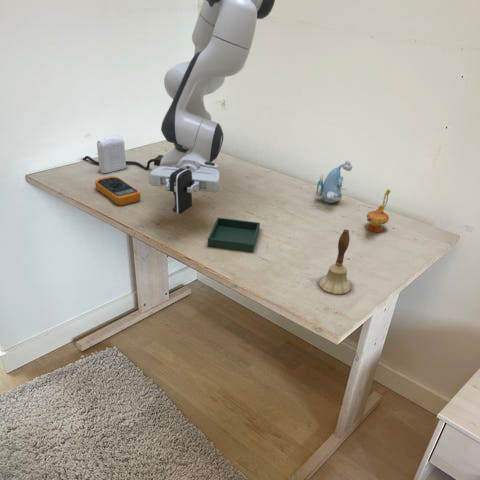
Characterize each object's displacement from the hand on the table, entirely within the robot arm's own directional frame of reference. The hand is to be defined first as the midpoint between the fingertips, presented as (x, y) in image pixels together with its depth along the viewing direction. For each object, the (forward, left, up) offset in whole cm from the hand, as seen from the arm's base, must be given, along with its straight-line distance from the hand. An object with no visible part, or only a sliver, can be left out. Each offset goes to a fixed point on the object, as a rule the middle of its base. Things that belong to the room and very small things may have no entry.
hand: (179, 189), depth 137 cm
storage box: (+16, +4, -15) cm, 22 cm away
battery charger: (0, +1, -7) cm, 7 cm away
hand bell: (+46, -15, -15) cm, 50 cm away
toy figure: (+44, +39, -15) cm, 60 cm away
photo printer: (-37, +45, -15) cm, 60 cm away
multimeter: (-28, +24, -15) cm, 40 cm away
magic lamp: (+58, +21, -15) cm, 63 cm away
